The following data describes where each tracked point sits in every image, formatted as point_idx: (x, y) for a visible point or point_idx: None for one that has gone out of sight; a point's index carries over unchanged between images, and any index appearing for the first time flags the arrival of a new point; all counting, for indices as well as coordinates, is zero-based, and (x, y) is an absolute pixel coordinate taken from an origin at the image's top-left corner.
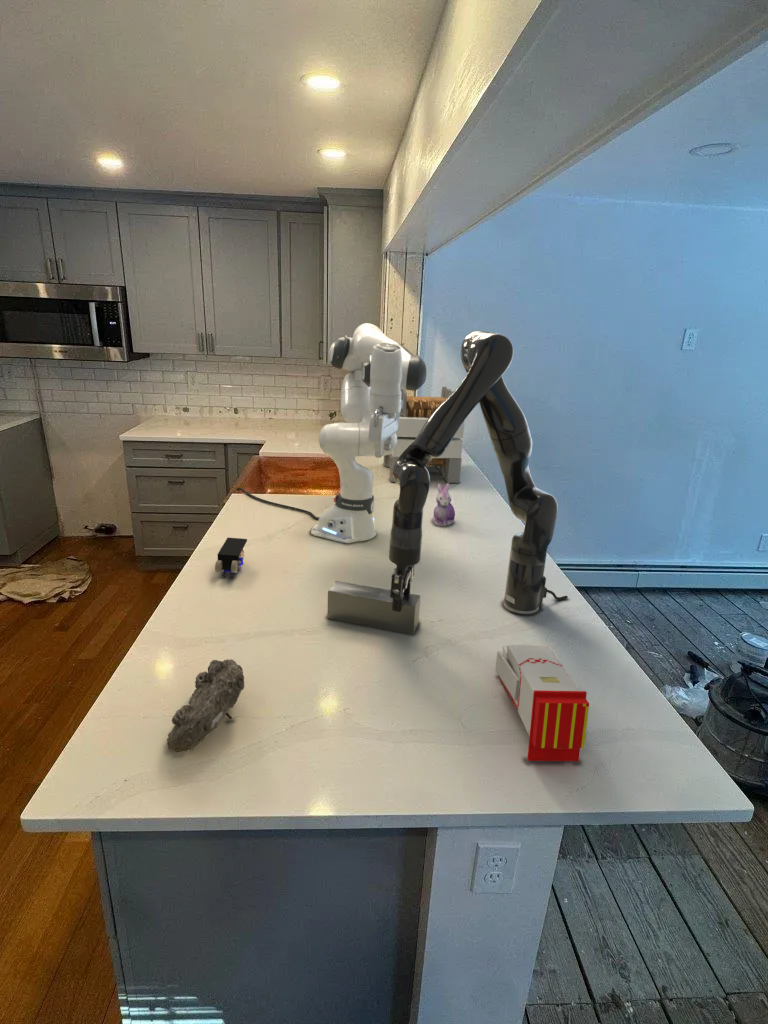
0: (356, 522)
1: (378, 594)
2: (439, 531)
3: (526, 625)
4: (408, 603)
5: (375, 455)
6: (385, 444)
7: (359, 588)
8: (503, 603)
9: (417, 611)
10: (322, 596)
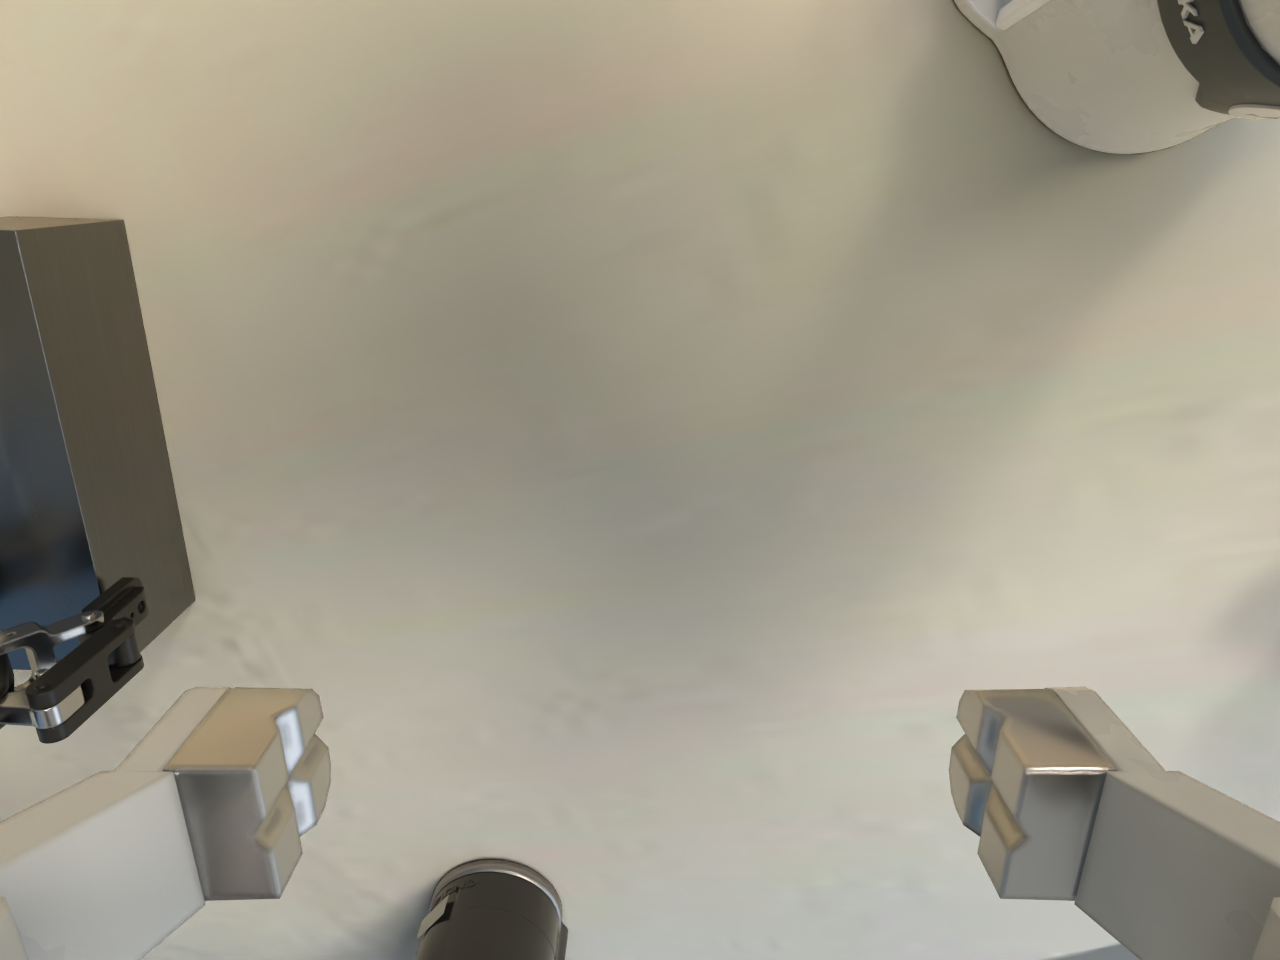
0: (1080, 16)
1: (9, 495)
2: (1273, 530)
3: (369, 922)
4: None
5: (179, 709)
6: (1038, 805)
7: (11, 387)
8: (482, 862)
9: None
10: (190, 106)
